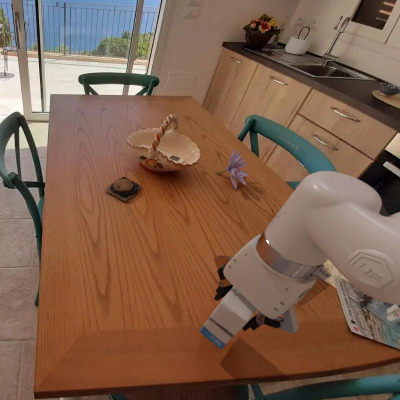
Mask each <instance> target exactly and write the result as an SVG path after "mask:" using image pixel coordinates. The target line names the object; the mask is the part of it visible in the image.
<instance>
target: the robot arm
mask: <svg viewBox="0 0 400 400" xmlns="http://www.w3.org/2000/svg"><path fill="white" fill-rule="evenodd" d="M382 206H383V201H382V198H381V196H380V194H379V193H378V192H377V190H375V189H374V187H372V186H371V185H369V184H368V183H366V182H364V181H363V180H362V179H361V180H360V179H359V178H356V177H355V176H352V175H348V174H345V173H341V172H338V171H333V170H332V171H331V170H322V171H321V170H320V171H316V172H312V173H310V174H308V175H307V176H305V177H304V178H303V179H302V180H301V181H300V183H299V184H298V185H297V186H296V188H295V189H294V191H293V192H292V193H291V194H290V196H289V197H288V198H287V200H286V201H285V203H284V204H283V205H282V206H281V208H280V209H279V210H278V212H277V213H276V214H275V215H274V217H273V218H272V220H271V221H270V222H269V224H268V225H267V226H266V228H264V230H263V232H262V233H261V234H257V235H256V236H255V237H253V238H251V240H249V241H248V242H247V243H246V244H244V245H243V246H242V247H241V248H240V249H239V250H238V251H237V252H236V253H235V254H234V255H218V256H216V257H214V258H213V259H214V263H215V266H216V269H217V270H216V271H217V274H218V277H219V281H218V287H217V288H216V290H215V293H216V295H214V297H213V300H214V301H216V302H218V301H220V300H222V299H223V298H224V297H225V296H226V294H227V293H228V292H229V291H230V290H231V289H232V287H233V286H234V287H235V288H236V289H237V290H238V291H239V292H240V293H241V294H242V295H243V296H244V297H245V298H246V299H247V300H248V301H249V302H250V303H251V304H252V305H254V306H255V307H256V308H257V310H256V314H255V315H253V316H252V317H251V318H250V320H249V321H248V322H247V323H246V324H245V325H244V327H243V328H242V330H243V332H246V331H248V330H249V329H251V330H252V331H256V330H257V329H258V328H260V326H264V325H265V326H267V327H271V328H273V329H281V330H282V331H283V332H284V331H285V332H287V333H290V334H296V332H298V331H299V330H300V326H299V321H298V317H297V314H296V310H295V306H296V305H297V304H298V303H299V302H301V301H302V299H303V298H305V296H306V295H307V294H308V293H309V292H310V290H311V289H312V288H313V286H314V285H315V284H316V282H317V280H318V279H319V280H320V281H321V282H325V281H326V280H328V279H329V278H330V277H332V273H330V272H329V271H327V269H326V268H325V267H326V265H325V264H326V263H327V262H328V261H330V263H331V264H332V266H333V267H334V268H335V269H336V270H337V271H338V273H340V274H341V275H342V276H343V278H345V279H346V280H347V281H348V282H349V284H351V285H352V286H353V287H354V288H356V289H357V290H359V291H360V292H362V293H363V294H364V295H366V296H368V297H370V298H372V299H375V300H377V301H380V302H382V303H386V304H390V305H396V306H400V211H398V212H396V213H393V214H391V215H388V216H386V215H382V214H381V213H380V211H381V209H382Z"/></svg>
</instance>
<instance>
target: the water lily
mask: <svg viewBox="0 0 400 400" xmlns="http://www.w3.org/2000/svg"><path fill="white" fill-rule="evenodd" d="M242 157H243V156H242V155H241V151H239V152H238V153H237V151H236V148H233V150H232V152H231V155H230V156H229V159H228V165H227V166H226V167H225V169H224V170H221V171H219V172H218V173H217V174H218V175H220V174H223V173H225V172H226V173H228V174H229V175H230V176H229V177H230V180H231V183H232V185H233V188H234V189H235V190H237V186H238V183H237V180H238V181H239V182H240V183H241V184H243V185H244V186H247V183H246V181H245V179H244V177H248V176H250V174H248V172H246V171H244V170H242V169H243V168H244V167H246V166H247V165H248V162H247V161H245V160H246V159H245V158H244V157H243V158H242Z"/></svg>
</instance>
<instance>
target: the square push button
mask: <svg viewBox="0 0 400 400" xmlns="http://www.w3.org/2000/svg"><path fill="white" fill-rule="evenodd" d="M140 189H141V185H140V184H139V183H137V182H135V181H133V180H131V179H129V178H127V177H126V176H123V177H121V178H120V179H118V180H117V181H115V182H114V183H111V184H110V188H108V190H107V193H108V194H110V195H112V196H114V197H115V198H117V199H119V200H121V201H122V202H127V201H129V200H130V199H132V198H133V197H134V196H135V195H136V194H137V193H138V191H140Z"/></svg>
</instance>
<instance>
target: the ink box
mask: <svg viewBox="0 0 400 400" xmlns="http://www.w3.org/2000/svg"><path fill="white" fill-rule="evenodd" d="M257 311H258V309H257V308H256V307H255V306H254V305H252V304H251V303H250V302H249V301H248V300H247V299H246V298H245V297H244V296H243V295H242V294H241V293H240V292H239V291H238V290H237V289H236V288H235V287H234V286H233V287H232V289H231V290H230V291H229V292H228V293H227V294H226V296H225V297H223V298H222V299H221V301H220V303H219V304H218V305H217V306H216V308H215V309H214V310H213V312H212V313H211V314H210V316H209V317H208V318H207V320H206V321H205V322H204V324H203V325H202V326H201V328H200V329H199V333H200V334H202V335H203V336H204V337H205V338H206V340H208V341H209V342H211V343H212V345H214V346H215V347H216V348H218V349H219V350H222V349H223V348H225V346H226V345H227V344H228V343H229V342H230V341H231V340H232V339H233V338H234V337H235V336H236V335H237V334H238V333H239V332H240V331H241V330H243V327H244V325H245V324H246V323H247V322H248V321H249V320H250V319H251V318H252V317H254V314H255V313H256V312H257Z"/></svg>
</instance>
